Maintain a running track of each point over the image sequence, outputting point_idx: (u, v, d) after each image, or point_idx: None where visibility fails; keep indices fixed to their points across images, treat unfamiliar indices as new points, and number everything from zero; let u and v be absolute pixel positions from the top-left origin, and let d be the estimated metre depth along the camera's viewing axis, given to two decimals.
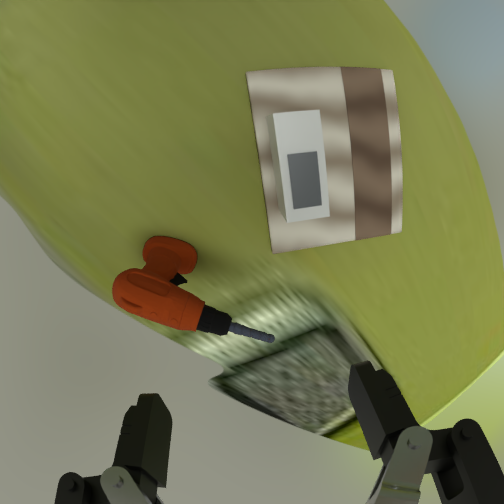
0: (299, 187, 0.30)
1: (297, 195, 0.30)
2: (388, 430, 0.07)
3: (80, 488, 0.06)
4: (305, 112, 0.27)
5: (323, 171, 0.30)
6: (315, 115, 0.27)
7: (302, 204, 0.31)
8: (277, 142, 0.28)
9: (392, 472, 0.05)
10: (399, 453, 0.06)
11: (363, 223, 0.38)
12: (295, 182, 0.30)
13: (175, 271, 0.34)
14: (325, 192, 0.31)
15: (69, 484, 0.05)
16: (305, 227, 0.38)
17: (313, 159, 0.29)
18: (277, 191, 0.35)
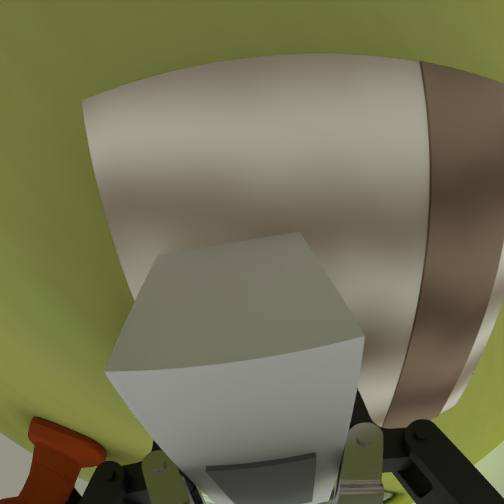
0: (253, 498, 0.08)
1: None
2: None
3: (119, 477, 0.06)
4: (281, 362, 0.05)
5: (329, 472, 0.08)
6: (337, 365, 0.05)
7: None
8: (162, 445, 0.06)
9: (348, 471, 0.06)
10: (346, 448, 0.07)
11: (397, 420, 0.16)
12: (241, 496, 0.08)
13: (69, 491, 0.12)
14: (325, 488, 0.09)
15: (107, 474, 0.06)
16: None
17: (301, 470, 0.07)
18: None
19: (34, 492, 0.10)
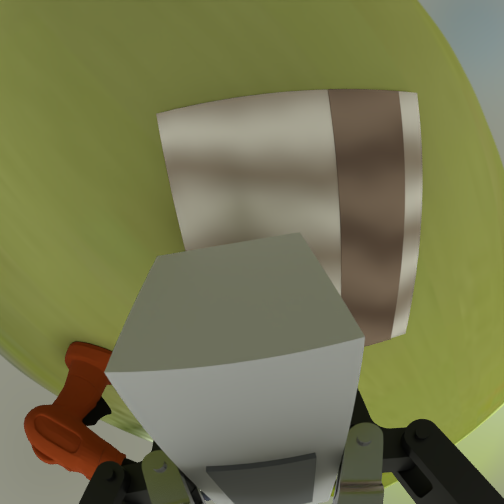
0: (253, 499, 0.08)
1: None
2: None
3: (119, 477, 0.06)
4: (282, 363, 0.05)
5: (329, 472, 0.08)
6: (337, 366, 0.05)
7: None
8: (162, 445, 0.06)
9: (348, 471, 0.06)
10: (346, 448, 0.07)
11: None
12: (241, 496, 0.08)
13: (97, 398, 0.22)
14: (325, 488, 0.09)
15: (107, 474, 0.06)
16: None
17: (301, 470, 0.07)
18: None
19: (68, 397, 0.20)
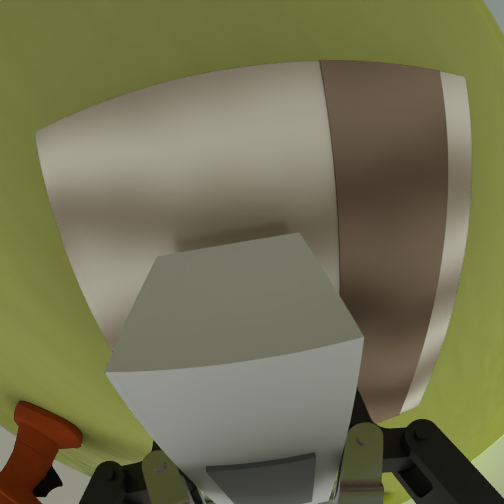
0: (253, 498, 0.08)
1: None
2: None
3: (119, 477, 0.06)
4: (281, 363, 0.05)
5: (328, 472, 0.08)
6: (336, 366, 0.05)
7: None
8: (162, 445, 0.06)
9: (348, 471, 0.06)
10: (346, 448, 0.07)
11: None
12: (241, 496, 0.08)
13: (46, 468, 0.14)
14: (325, 488, 0.09)
15: (107, 474, 0.06)
16: None
17: (301, 469, 0.07)
18: None
19: (15, 467, 0.11)
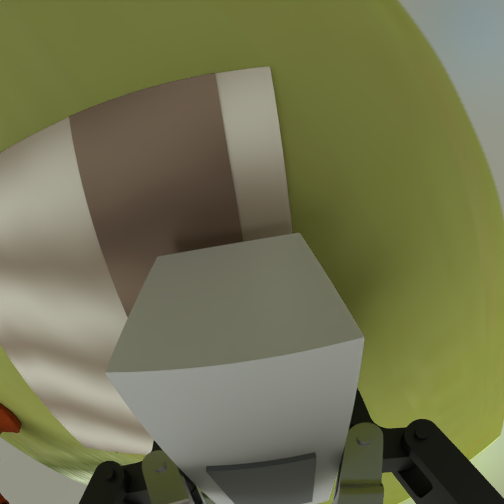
0: (253, 498, 0.08)
1: None
2: None
3: (119, 477, 0.06)
4: (281, 363, 0.05)
5: (328, 472, 0.08)
6: (336, 366, 0.05)
7: None
8: (162, 445, 0.06)
9: (348, 471, 0.06)
10: (346, 448, 0.07)
11: None
12: (241, 496, 0.08)
13: None
14: (325, 488, 0.09)
15: (107, 474, 0.06)
16: (110, 436, 0.17)
17: (301, 469, 0.07)
18: None
19: None
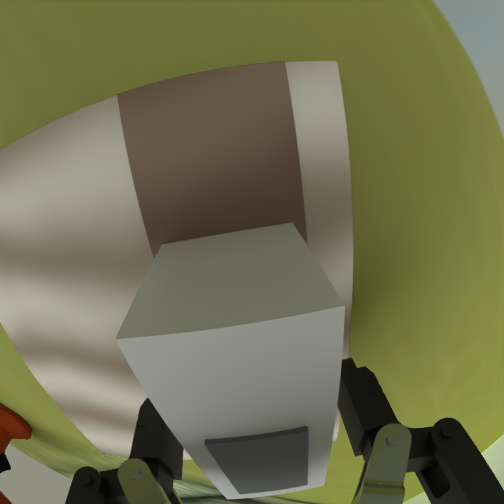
0: (250, 478, 0.09)
1: (246, 485, 0.09)
2: (366, 427, 0.07)
3: (96, 482, 0.06)
4: (272, 328, 0.06)
5: (322, 450, 0.08)
6: (321, 333, 0.06)
7: (259, 490, 0.10)
8: (164, 416, 0.07)
9: (373, 471, 0.06)
10: (376, 450, 0.06)
11: None
12: (238, 475, 0.09)
13: None
14: (320, 470, 0.09)
15: (85, 479, 0.06)
16: None
17: (294, 445, 0.08)
18: None
19: None
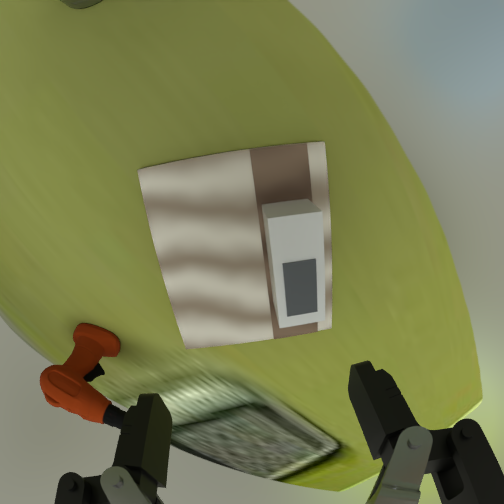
0: (294, 296, 0.28)
1: (291, 304, 0.28)
2: (388, 430, 0.07)
3: (80, 488, 0.06)
4: (305, 215, 0.25)
5: (321, 278, 0.28)
6: (317, 218, 0.25)
7: (296, 311, 0.29)
8: (272, 250, 0.26)
9: (392, 472, 0.05)
10: (399, 453, 0.06)
11: None
12: (290, 291, 0.28)
13: (95, 363, 0.33)
14: (322, 298, 0.29)
15: (69, 484, 0.05)
16: (215, 328, 0.36)
17: (311, 268, 0.27)
18: None
19: (74, 360, 0.30)
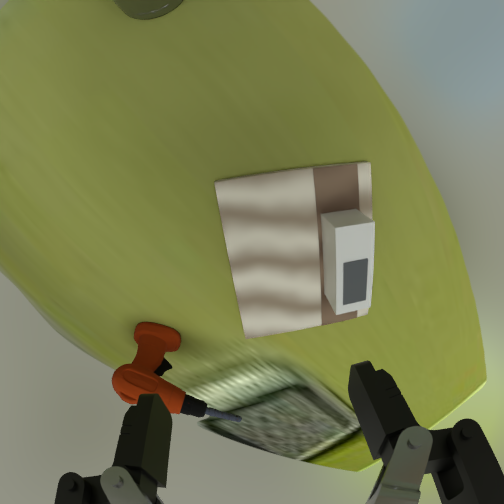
0: (350, 288, 0.34)
1: (347, 294, 0.34)
2: (388, 430, 0.07)
3: (80, 488, 0.06)
4: (362, 225, 0.31)
5: (370, 273, 0.34)
6: (370, 227, 0.31)
7: (350, 300, 0.35)
8: (336, 253, 0.32)
9: (392, 472, 0.05)
10: (399, 453, 0.06)
11: (329, 312, 0.43)
12: (347, 285, 0.34)
13: (162, 358, 0.39)
14: (369, 289, 0.35)
15: (69, 484, 0.05)
16: (274, 318, 0.42)
17: (364, 265, 0.33)
18: (325, 280, 0.39)
19: (143, 358, 0.36)
